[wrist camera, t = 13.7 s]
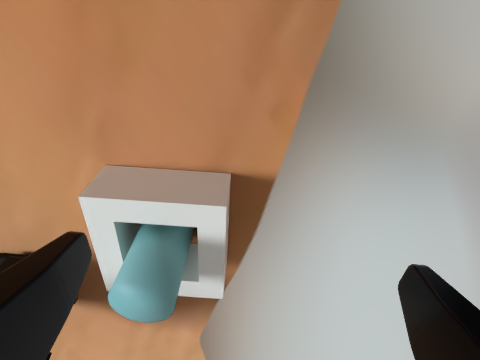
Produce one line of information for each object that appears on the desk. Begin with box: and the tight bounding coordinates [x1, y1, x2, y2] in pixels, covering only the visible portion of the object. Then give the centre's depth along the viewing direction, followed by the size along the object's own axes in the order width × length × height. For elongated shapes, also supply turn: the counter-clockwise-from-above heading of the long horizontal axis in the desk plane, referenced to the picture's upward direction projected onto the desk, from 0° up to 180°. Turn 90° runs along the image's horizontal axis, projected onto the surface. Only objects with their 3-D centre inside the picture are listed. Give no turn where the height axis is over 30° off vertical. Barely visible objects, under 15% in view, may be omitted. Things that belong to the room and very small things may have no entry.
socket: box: [78, 165, 231, 299], centre depth 23 cm, size 9×9×4 cm
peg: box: [108, 224, 195, 323], centre depth 21 cm, size 4×4×8 cm
